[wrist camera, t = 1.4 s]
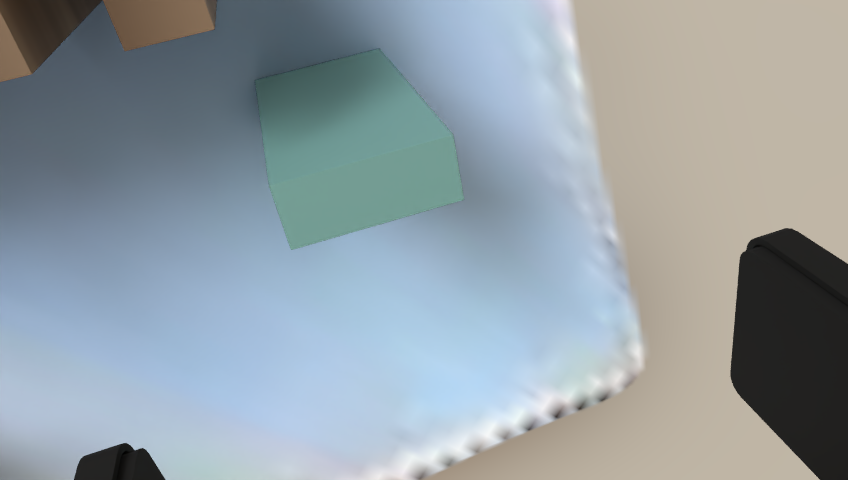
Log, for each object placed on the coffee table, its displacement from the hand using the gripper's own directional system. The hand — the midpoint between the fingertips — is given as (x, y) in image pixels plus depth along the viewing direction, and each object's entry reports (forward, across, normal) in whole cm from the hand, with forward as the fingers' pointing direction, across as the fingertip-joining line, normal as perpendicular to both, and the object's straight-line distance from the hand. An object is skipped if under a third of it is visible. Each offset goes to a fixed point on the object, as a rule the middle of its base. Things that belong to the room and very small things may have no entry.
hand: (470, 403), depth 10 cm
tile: (+19, 0, 0) cm, 19 cm away
